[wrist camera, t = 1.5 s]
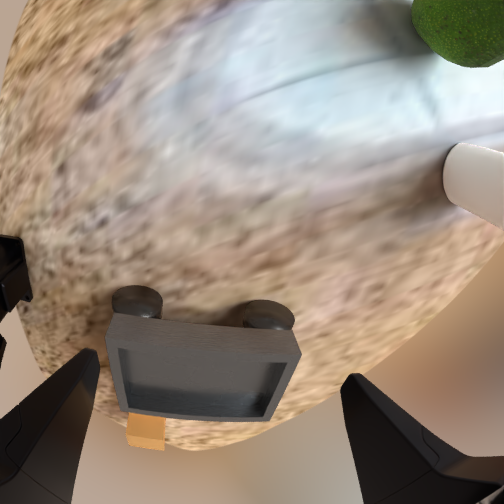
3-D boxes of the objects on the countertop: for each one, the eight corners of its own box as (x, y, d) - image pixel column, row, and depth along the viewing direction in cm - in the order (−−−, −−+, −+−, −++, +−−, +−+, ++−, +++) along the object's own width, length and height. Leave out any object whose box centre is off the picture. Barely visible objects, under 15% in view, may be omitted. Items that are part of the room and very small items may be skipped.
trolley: (125, 356, 25) (112, 409, 19) (118, 281, 21) (94, 334, 15) (264, 369, 28) (276, 420, 22) (288, 300, 24) (311, 354, 18)
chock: (166, 409, 29) (164, 450, 24) (134, 405, 28) (129, 445, 23) (165, 382, 27) (162, 427, 22) (130, 376, 26) (121, 421, 21)
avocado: (383, -16, 13) (478, -58, 2) (445, 9, 13) (535, -4, 2) (398, 60, 16) (518, 48, 5) (457, 78, 17) (559, 87, 6)
